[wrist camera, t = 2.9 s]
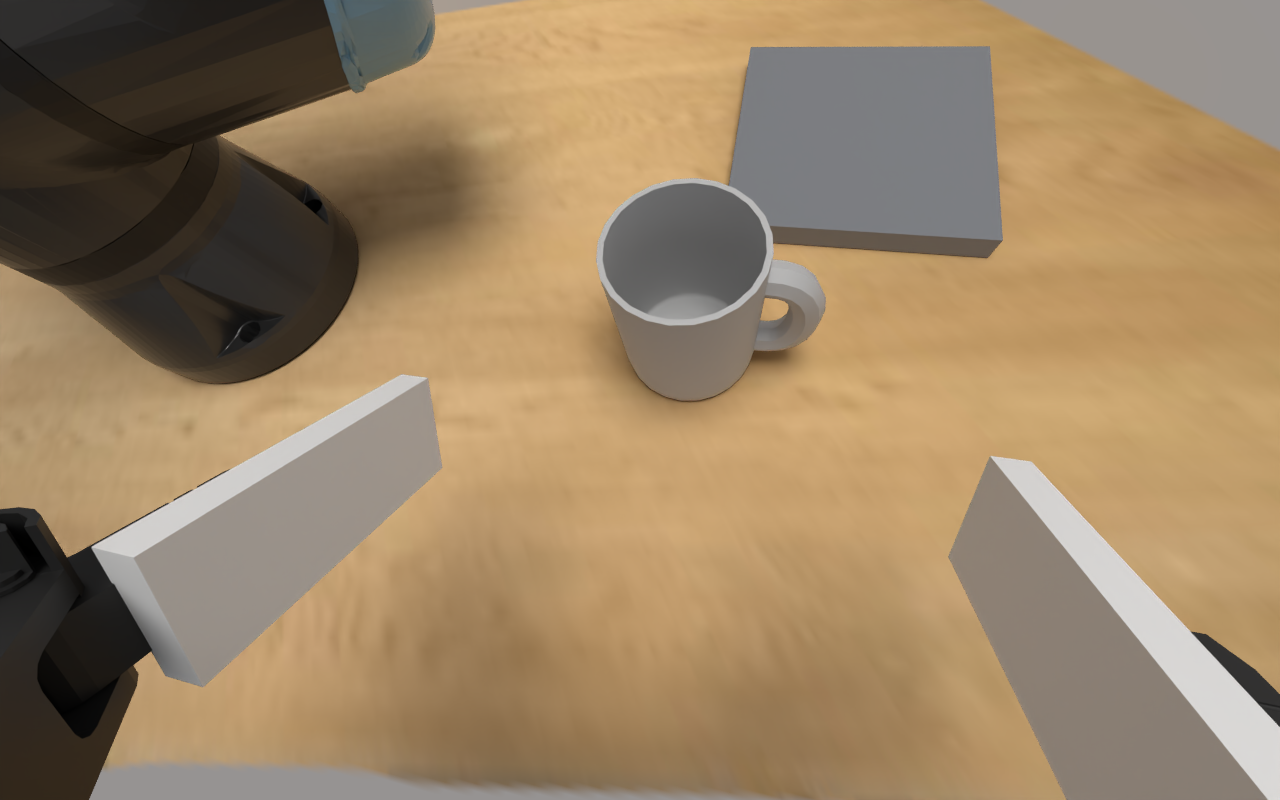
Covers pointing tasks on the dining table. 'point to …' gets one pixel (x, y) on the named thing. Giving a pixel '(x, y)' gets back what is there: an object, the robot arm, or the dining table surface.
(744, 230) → the cup
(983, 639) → the dining table surface
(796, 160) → the slate tile
